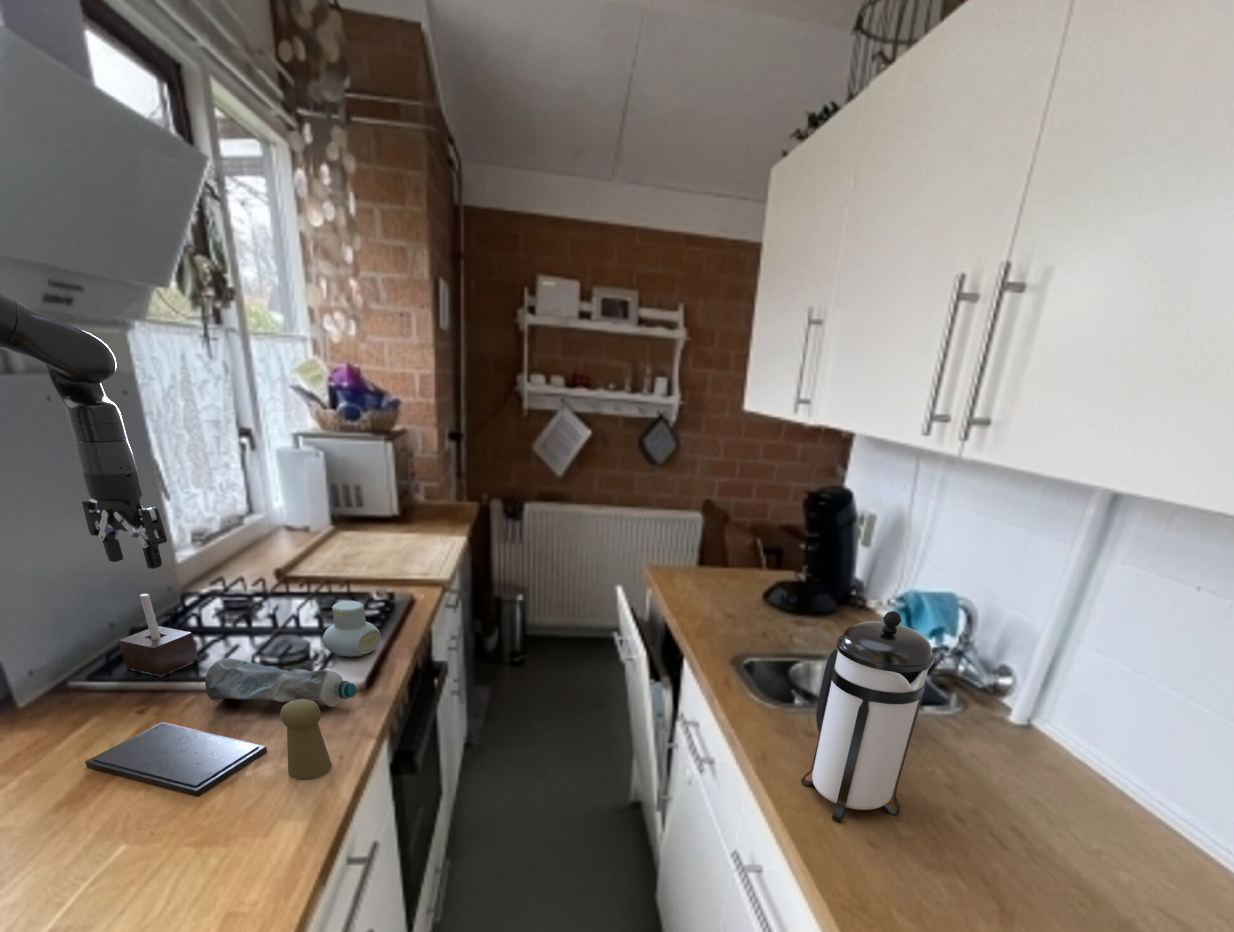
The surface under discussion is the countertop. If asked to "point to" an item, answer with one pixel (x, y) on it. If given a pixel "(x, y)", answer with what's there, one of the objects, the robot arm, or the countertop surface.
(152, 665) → the pen stand
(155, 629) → the stylus
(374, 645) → the air freshener
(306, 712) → the olive green pawn
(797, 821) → the countertop surface
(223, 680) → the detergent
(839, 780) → the coffee press
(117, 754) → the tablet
